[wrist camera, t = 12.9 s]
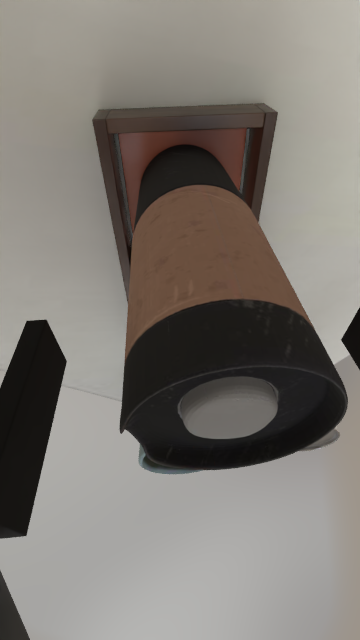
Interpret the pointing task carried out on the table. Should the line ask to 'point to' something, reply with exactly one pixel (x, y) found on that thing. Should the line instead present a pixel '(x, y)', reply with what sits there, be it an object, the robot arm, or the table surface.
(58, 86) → the table surface
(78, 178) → the table surface
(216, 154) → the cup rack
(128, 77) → the table surface
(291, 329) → the travel mug
